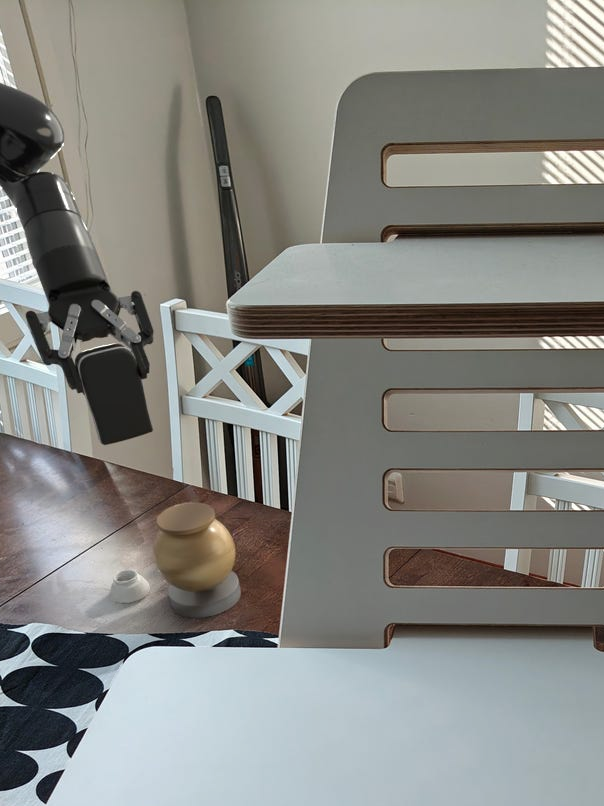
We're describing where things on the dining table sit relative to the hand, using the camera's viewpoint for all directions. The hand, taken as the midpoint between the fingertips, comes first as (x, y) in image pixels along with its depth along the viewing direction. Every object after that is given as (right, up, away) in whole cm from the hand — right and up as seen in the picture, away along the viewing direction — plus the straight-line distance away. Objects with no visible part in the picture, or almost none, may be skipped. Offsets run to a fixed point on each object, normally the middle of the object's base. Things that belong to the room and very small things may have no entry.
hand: (112, 383), depth 119 cm
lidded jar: (+9, -26, +9) cm, 29 cm away
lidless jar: (-1, -25, +11) cm, 27 cm away
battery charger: (-1, -5, +6) cm, 8 cm away
